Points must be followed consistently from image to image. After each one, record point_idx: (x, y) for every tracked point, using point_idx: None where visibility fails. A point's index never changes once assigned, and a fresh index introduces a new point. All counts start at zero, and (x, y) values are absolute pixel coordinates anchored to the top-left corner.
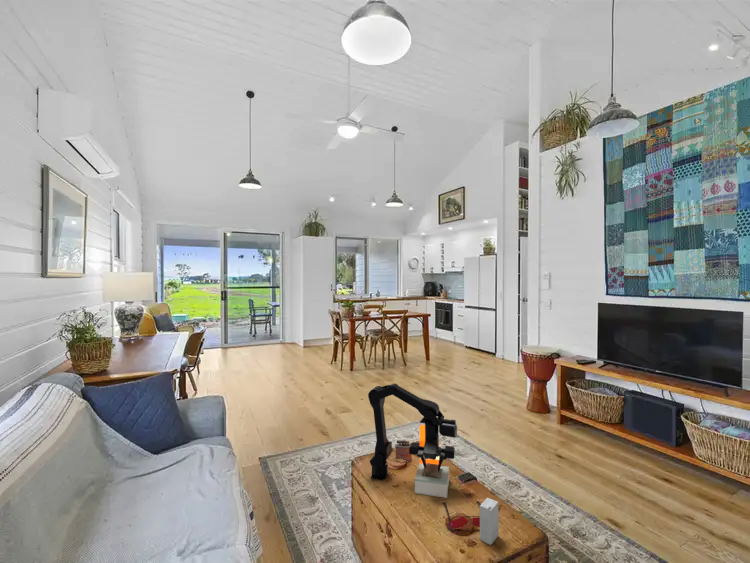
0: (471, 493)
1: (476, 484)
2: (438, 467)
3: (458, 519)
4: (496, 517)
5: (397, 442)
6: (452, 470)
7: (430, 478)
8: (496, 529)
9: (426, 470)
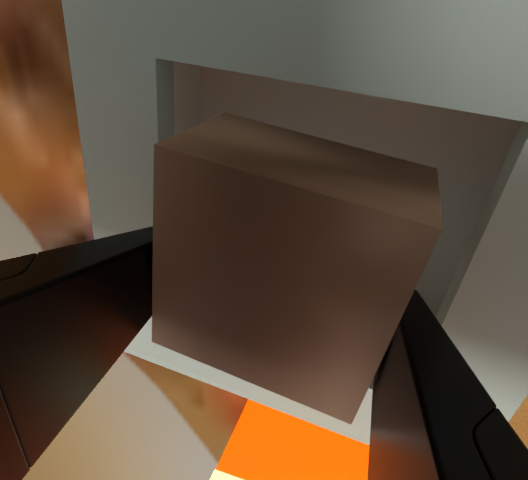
0: (7, 78)
1: (9, 205)
2: (132, 245)
3: None
4: None
5: None
6: (173, 374)
7: (340, 53)
8: None
9: (404, 202)
